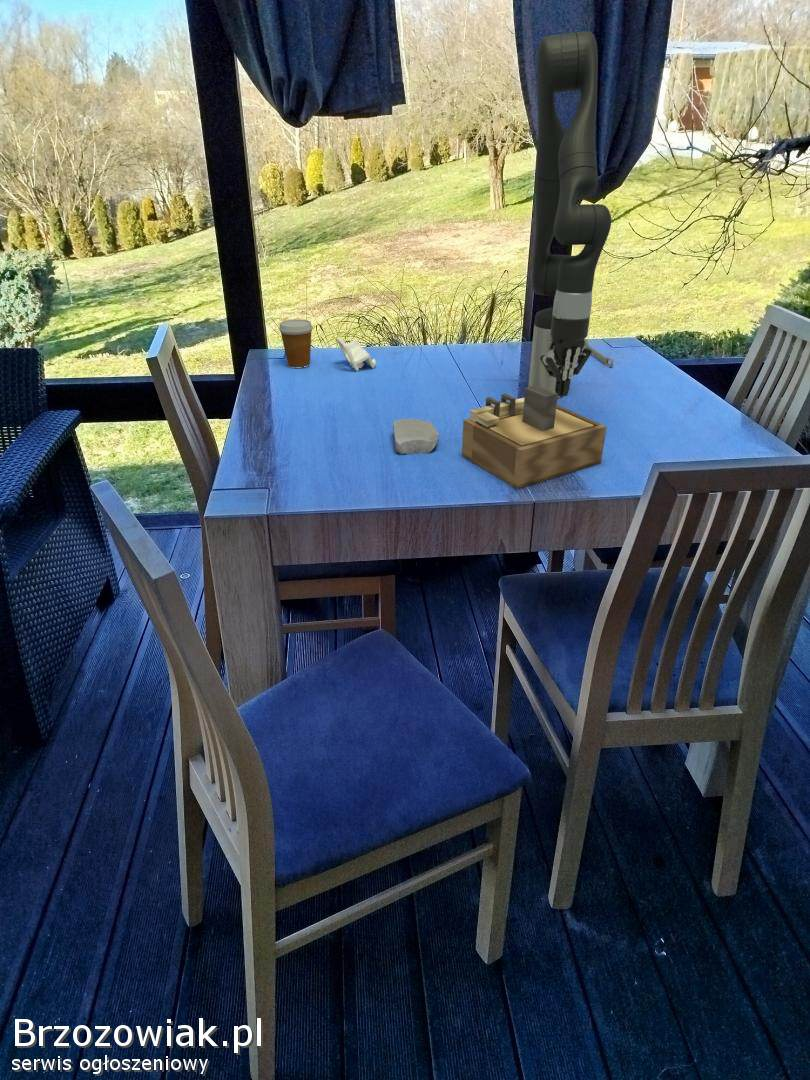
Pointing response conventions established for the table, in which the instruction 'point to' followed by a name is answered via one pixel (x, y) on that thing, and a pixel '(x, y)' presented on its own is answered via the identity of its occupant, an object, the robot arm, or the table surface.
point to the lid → (538, 420)
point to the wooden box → (531, 450)
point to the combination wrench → (599, 355)
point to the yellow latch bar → (487, 413)
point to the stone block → (414, 436)
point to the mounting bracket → (355, 354)
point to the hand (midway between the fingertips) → (561, 395)
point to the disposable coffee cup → (296, 341)
